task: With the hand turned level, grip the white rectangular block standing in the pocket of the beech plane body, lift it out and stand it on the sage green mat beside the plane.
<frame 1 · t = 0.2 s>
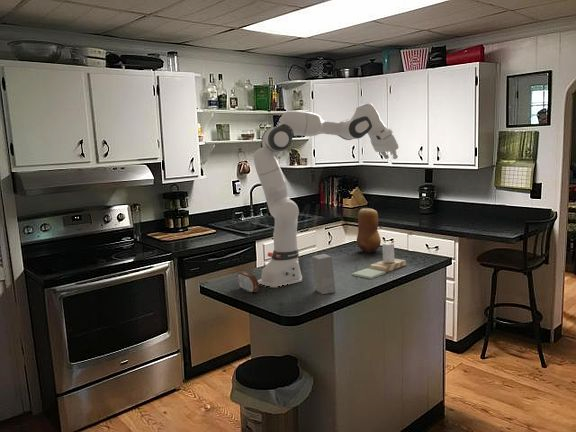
hand: (391, 158, 242), 54 cm above the countertop, tool tilted 30°, fingers open, 8 cm apart
brown white rounded block: (248, 291, 221), on the countertop
green mat: (368, 274, 235), on the countertop
plane body: (388, 267, 246), on the countertop
butternut squash: (368, 252, 281), on the countertop
skincare box: (324, 291, 213), on the countertop
white rectangular block: (388, 267, 246), resting in plane body
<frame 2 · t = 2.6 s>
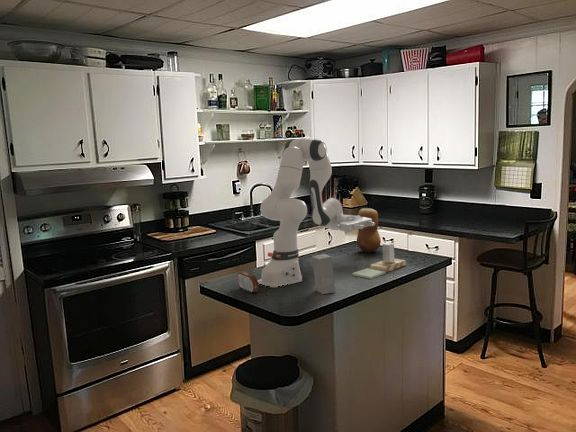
hand: (368, 225, 252), 20 cm above the countertop, tool horizontal, fingers open, 8 cm apart
nothing on the countertop moved.
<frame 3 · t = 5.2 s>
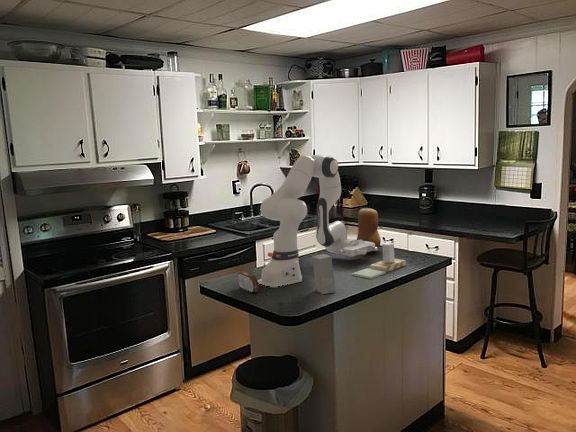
hand: (371, 250, 253), 7 cm above the countertop, tool horizontal, fingers open, 8 cm apart
nothing on the countertop moved.
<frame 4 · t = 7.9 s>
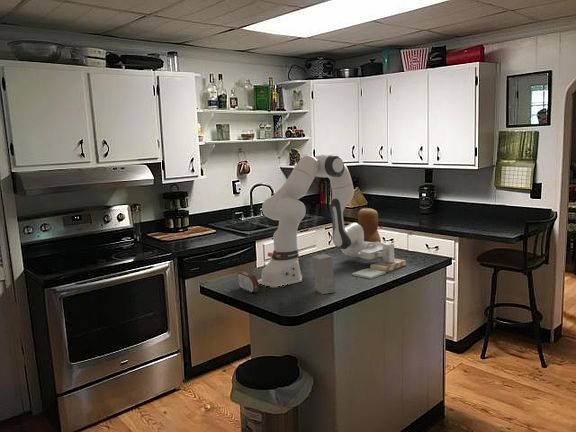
hand: (389, 253, 244), 7 cm above the countertop, tool horizontal, fingers closed on white rectangular block, 4 cm apart
white rectangular block: (388, 267, 246), resting in plane body, touching gripper
everything else where it was.
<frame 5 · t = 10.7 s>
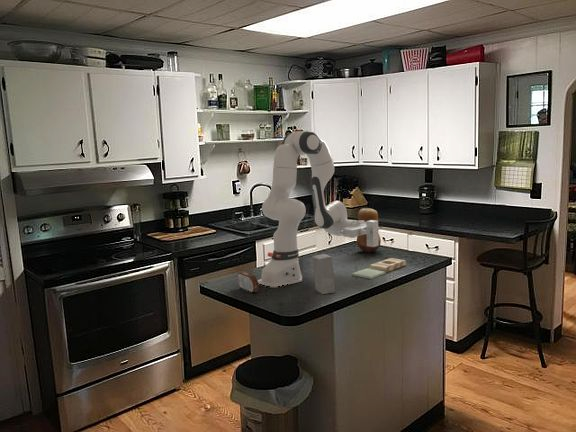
hand: (373, 231, 234), 20 cm above the countertop, tool horizontal, fingers closed on white rectangular block, 4 cm apart
white rectangular block: (372, 245, 236), point 13 cm above the countertop, touching gripper
everything else where it was.
when the fingers open (9 cm above the countertop, at t = 13.7 s): white rectangular block stays where it is, resting on green mat.
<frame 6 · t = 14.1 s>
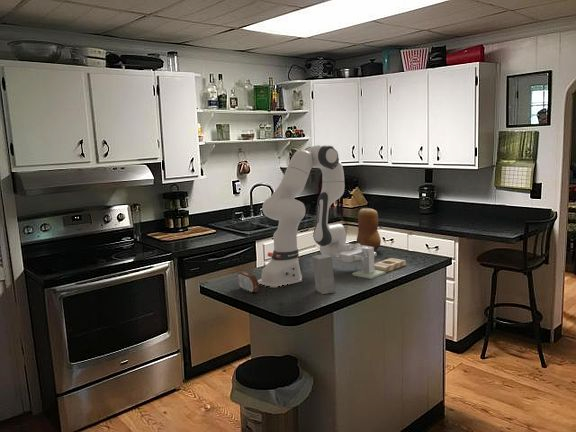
hand: (369, 256, 233), 9 cm above the countertop, tool horizontal, fingers open, 8 cm apart
white rectangular block: (368, 272, 235), point 1 cm above the countertop, touching green mat
everything else where it was.
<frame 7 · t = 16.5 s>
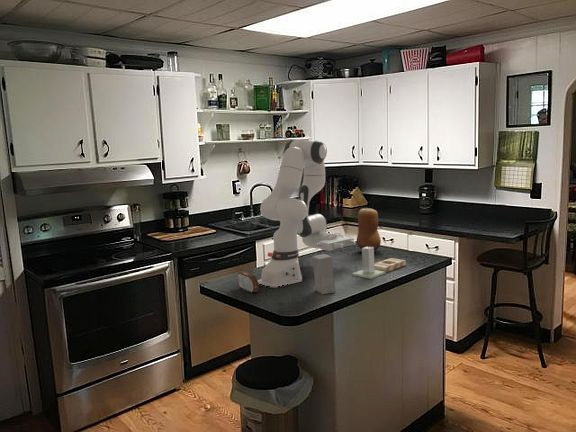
hand: (348, 244, 243), 13 cm above the countertop, tool horizontal, fingers open, 8 cm apart
nothing on the countertop moved.
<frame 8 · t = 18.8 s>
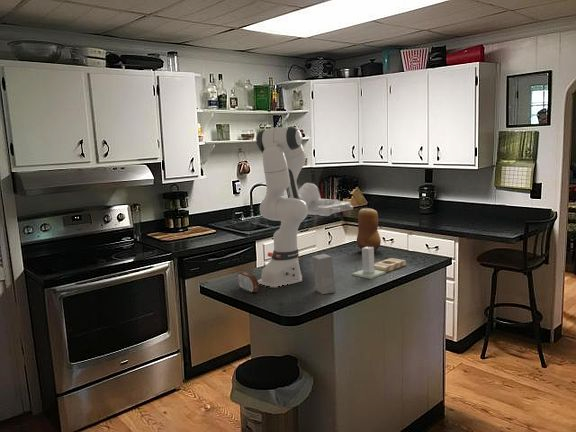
hand: (346, 209, 245), 30 cm above the countertop, tool horizontal, fingers open, 8 cm apart
nothing on the countertop moved.
at the end: white rectangular block inside the target area on the green mat (0.0 cm from its centre), point 1.0 cm above the green mat's base; white rectangular block tilted 0°; the gripper is holding nothing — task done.
